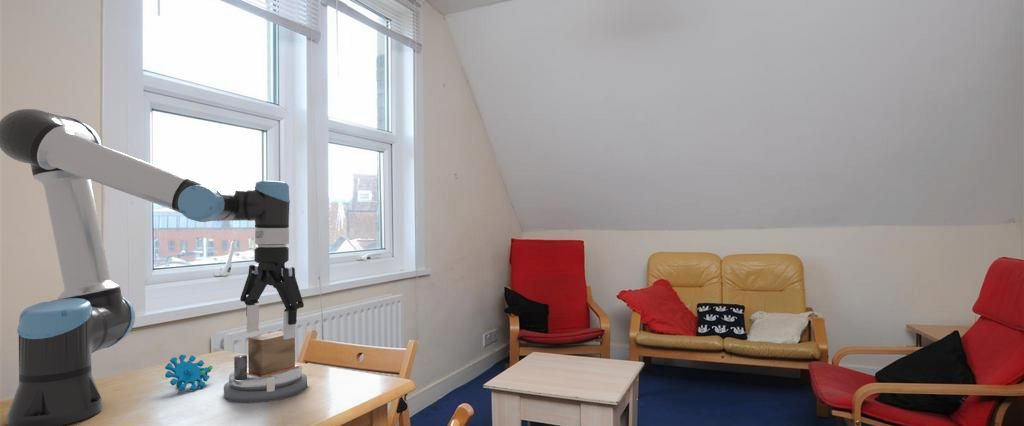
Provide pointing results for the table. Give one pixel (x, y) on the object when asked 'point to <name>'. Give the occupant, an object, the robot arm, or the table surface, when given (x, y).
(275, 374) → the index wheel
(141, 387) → the table surface
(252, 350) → the link block
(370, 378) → the table surface
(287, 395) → the wheel base
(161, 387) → the table surface
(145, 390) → the table surface
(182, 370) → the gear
